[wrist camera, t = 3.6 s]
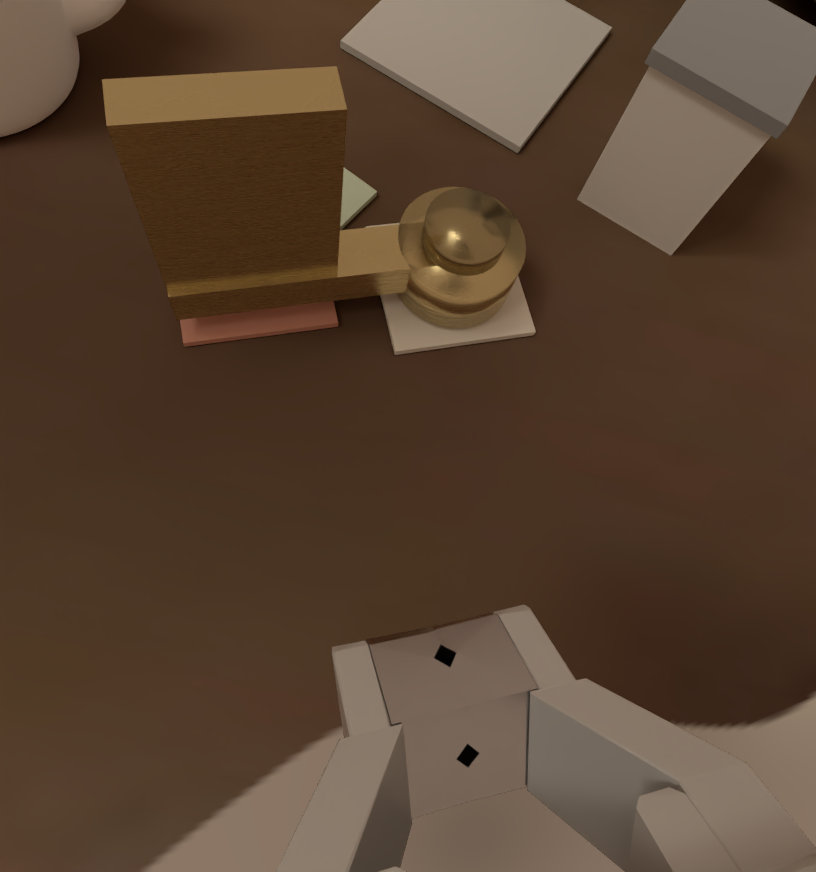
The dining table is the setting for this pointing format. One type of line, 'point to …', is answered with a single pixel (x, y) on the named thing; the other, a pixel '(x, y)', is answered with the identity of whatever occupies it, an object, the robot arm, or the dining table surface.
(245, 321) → the marks
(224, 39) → the dining table surface
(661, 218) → the grey rectangular block
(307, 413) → the dining table surface
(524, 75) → the mat
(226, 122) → the gold angular piece
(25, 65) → the mug
